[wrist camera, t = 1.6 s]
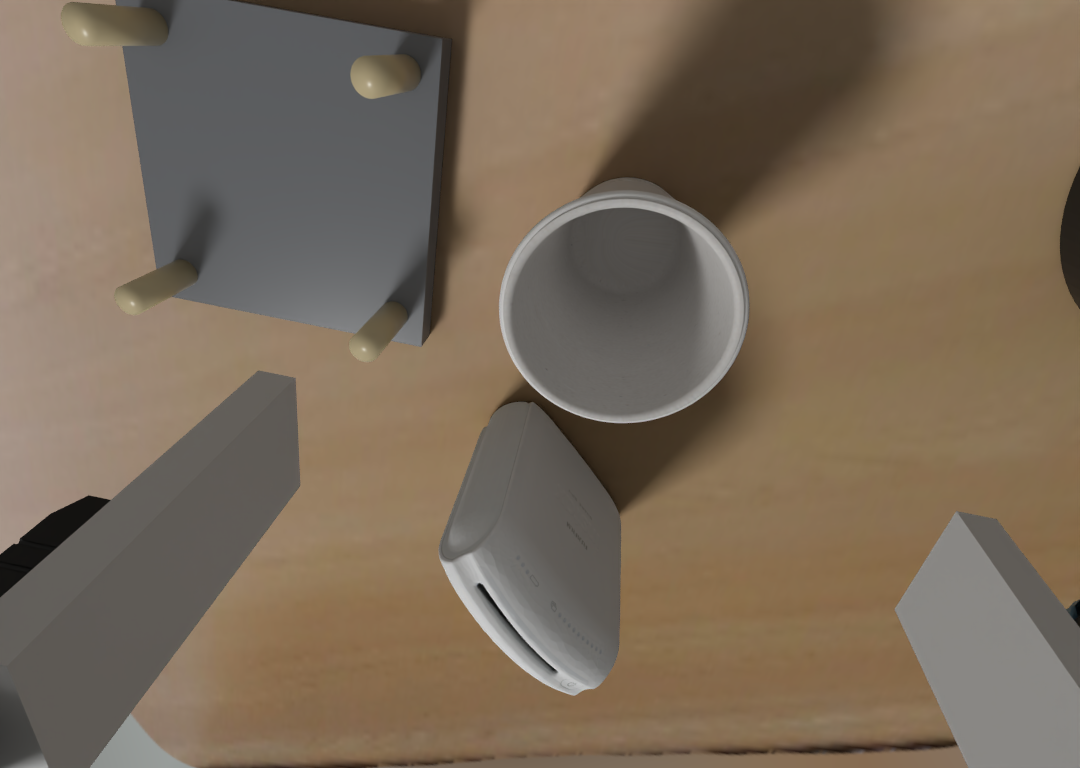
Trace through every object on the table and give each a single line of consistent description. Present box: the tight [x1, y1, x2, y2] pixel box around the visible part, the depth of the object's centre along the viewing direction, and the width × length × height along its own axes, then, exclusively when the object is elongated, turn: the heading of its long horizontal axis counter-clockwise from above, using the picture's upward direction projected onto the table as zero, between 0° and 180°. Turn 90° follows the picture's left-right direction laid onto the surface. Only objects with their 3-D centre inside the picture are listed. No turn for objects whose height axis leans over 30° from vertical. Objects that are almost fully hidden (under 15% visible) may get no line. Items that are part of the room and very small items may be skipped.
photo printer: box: [439, 402, 621, 695], centre depth 31 cm, size 10×4×12 cm, turn 34°
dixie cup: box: [499, 177, 749, 423], centre depth 25 cm, size 8×8×10 cm
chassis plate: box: [61, 0, 452, 362], centre depth 28 cm, size 14×14×6 cm
